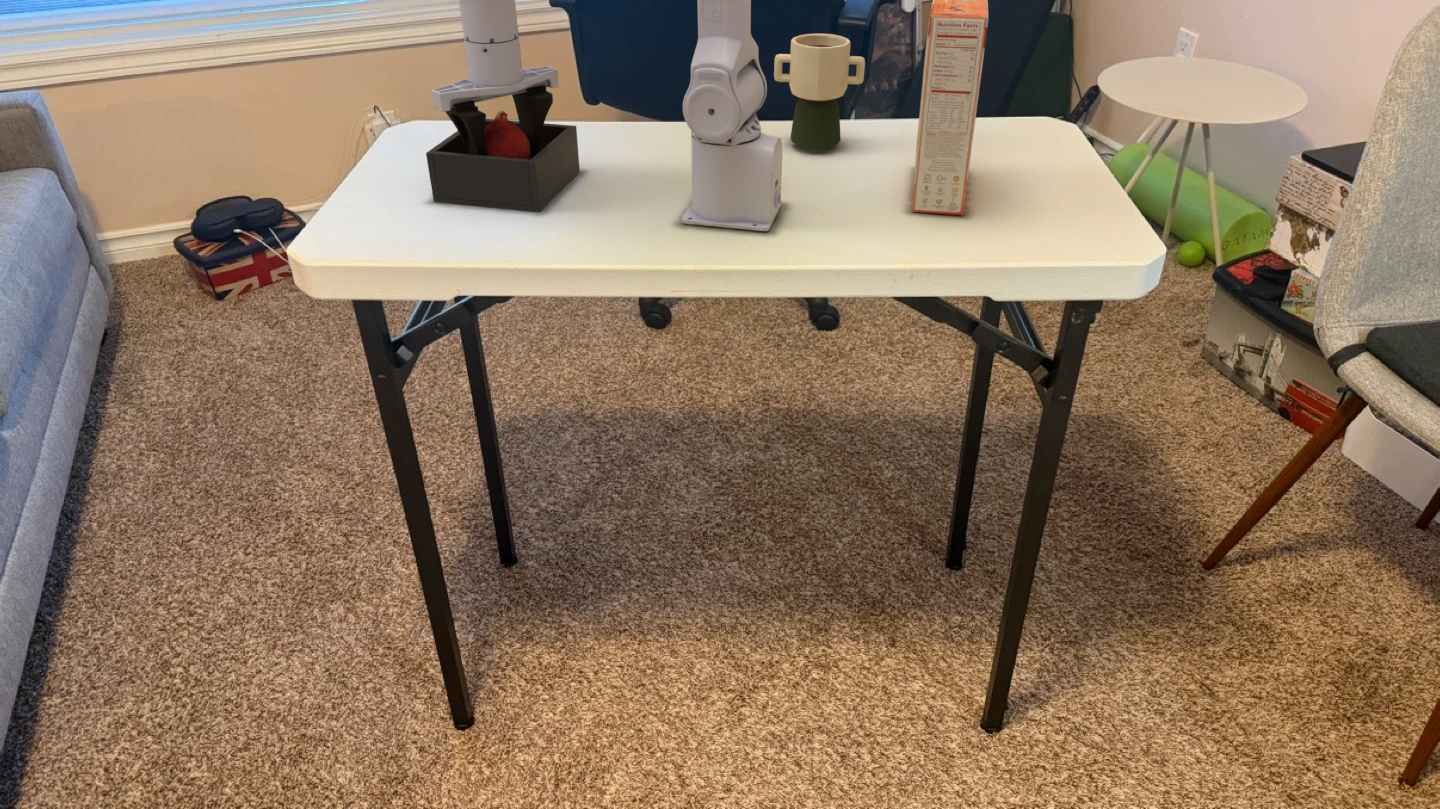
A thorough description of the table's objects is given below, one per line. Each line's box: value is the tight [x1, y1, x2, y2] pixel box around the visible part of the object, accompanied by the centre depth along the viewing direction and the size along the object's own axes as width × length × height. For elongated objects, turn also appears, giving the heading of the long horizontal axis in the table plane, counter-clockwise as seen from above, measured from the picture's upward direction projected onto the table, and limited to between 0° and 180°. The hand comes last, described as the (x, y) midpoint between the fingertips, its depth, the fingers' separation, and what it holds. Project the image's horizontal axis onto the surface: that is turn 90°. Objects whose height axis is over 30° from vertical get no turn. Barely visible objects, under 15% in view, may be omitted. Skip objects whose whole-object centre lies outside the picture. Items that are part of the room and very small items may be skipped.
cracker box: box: [911, 0, 989, 216], centre depth 110 cm, size 14×6×21 cm, turn 168°
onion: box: [485, 110, 531, 159], centre depth 114 cm, size 6×6×8 cm
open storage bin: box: [425, 118, 581, 213], centre depth 115 cm, size 13×13×6 cm
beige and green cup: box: [773, 33, 866, 151], centre depth 125 cm, size 11×7×13 cm, turn 83°
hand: (505, 161), depth 115 cm, fingers closed on onion, 6 cm apart
